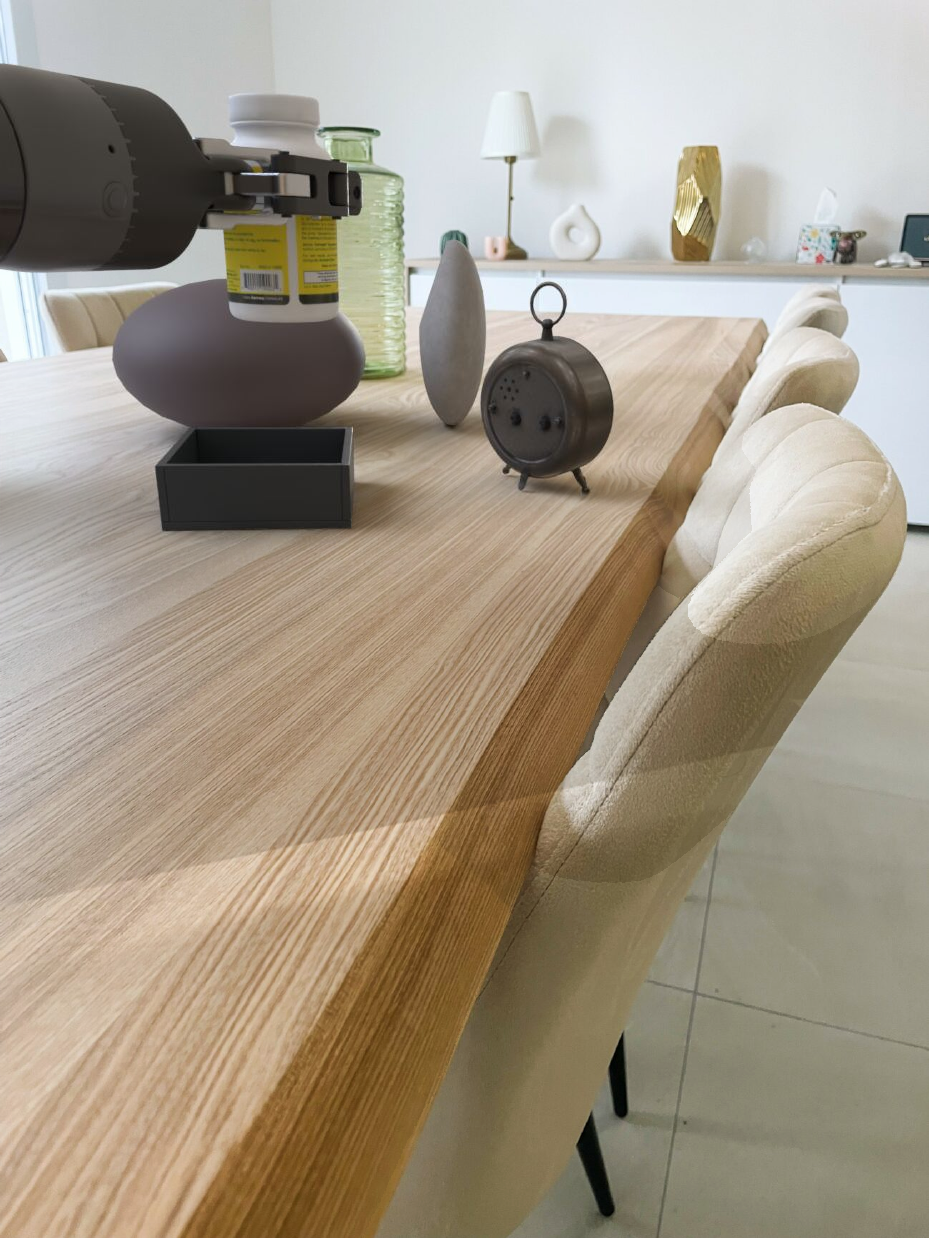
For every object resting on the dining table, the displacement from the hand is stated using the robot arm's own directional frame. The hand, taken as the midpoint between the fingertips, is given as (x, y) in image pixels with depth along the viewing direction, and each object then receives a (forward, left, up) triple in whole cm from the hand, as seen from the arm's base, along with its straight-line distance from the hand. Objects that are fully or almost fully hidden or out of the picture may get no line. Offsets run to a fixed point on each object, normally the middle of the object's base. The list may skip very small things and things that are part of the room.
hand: (304, 193), depth 52 cm
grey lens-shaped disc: (0, +46, -22) cm, 51 cm away
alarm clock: (+12, +21, -22) cm, 32 cm away
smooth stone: (-20, +37, -22) cm, 47 cm away
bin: (-8, +11, -22) cm, 25 cm away
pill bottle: (-1, -2, -7) cm, 7 cm away
